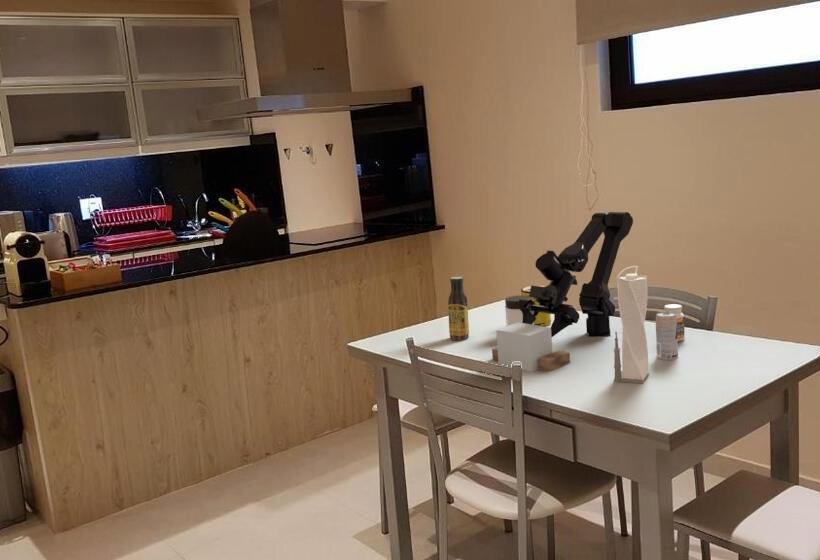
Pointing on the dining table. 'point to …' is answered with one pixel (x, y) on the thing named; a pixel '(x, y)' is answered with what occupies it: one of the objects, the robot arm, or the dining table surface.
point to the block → (523, 344)
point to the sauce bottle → (458, 310)
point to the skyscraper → (632, 329)
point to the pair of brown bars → (546, 359)
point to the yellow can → (542, 318)
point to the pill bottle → (680, 319)
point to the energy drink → (666, 335)
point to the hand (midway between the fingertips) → (535, 336)
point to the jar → (514, 309)
